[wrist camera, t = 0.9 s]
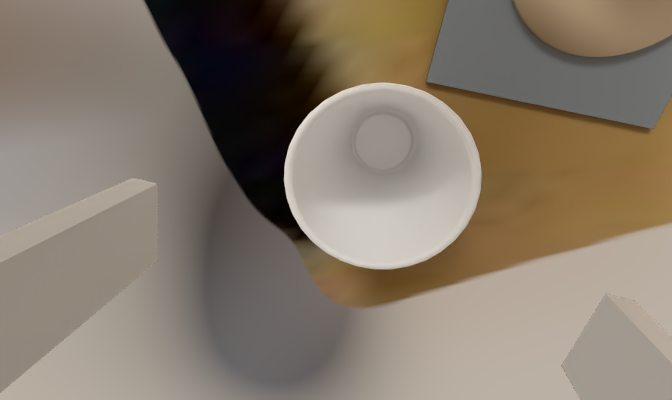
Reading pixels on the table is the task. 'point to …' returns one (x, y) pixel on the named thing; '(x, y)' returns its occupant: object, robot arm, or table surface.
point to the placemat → (547, 67)
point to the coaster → (597, 24)
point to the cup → (382, 176)
